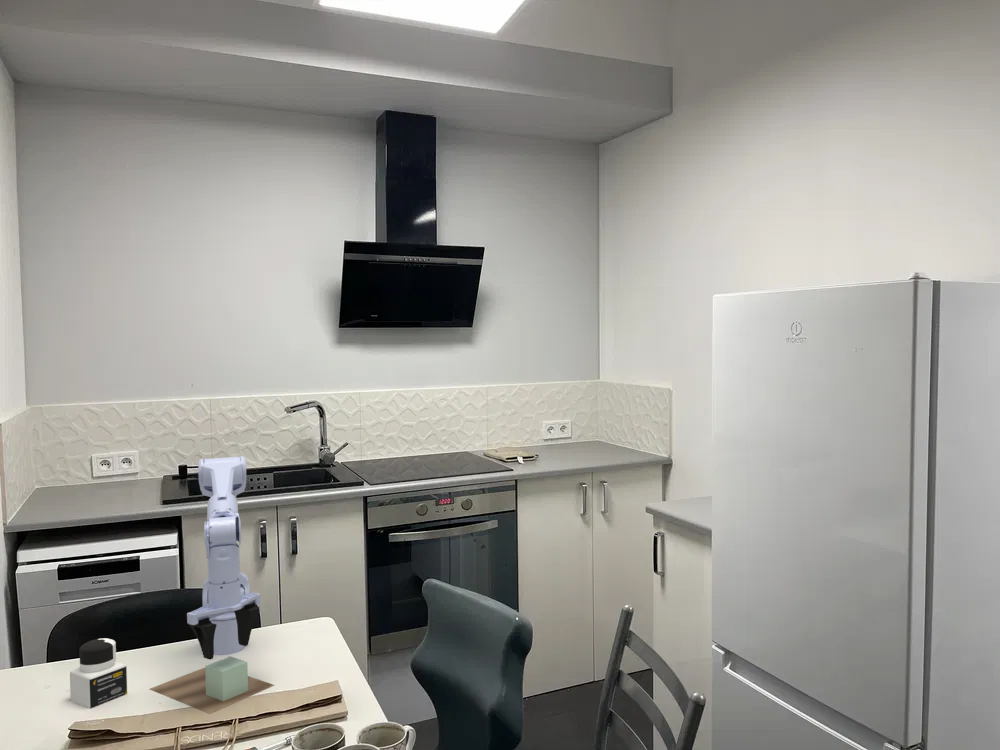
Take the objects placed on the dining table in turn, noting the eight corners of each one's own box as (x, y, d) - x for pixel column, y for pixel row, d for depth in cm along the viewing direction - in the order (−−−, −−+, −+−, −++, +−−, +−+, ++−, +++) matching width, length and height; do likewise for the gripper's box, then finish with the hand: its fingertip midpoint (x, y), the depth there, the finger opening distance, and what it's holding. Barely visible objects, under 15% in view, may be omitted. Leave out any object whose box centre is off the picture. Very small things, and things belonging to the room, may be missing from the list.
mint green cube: (206, 694, 138) (205, 665, 138) (231, 684, 143) (230, 656, 143) (223, 701, 135) (222, 671, 135) (248, 690, 140) (247, 661, 140)
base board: (149, 696, 142) (148, 673, 142) (213, 671, 153) (212, 649, 153) (210, 722, 130) (209, 697, 130) (274, 692, 142) (274, 669, 142)
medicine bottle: (90, 716, 134) (88, 651, 134) (70, 708, 138) (68, 644, 138) (128, 701, 140) (126, 638, 140) (107, 693, 144) (105, 632, 144)
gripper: (202, 593, 131) (204, 668, 131) (269, 573, 143) (271, 643, 143) (179, 587, 135) (181, 660, 135) (246, 568, 147) (248, 636, 147)
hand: (226, 651), depth 139 cm, fingers open, 7 cm apart
